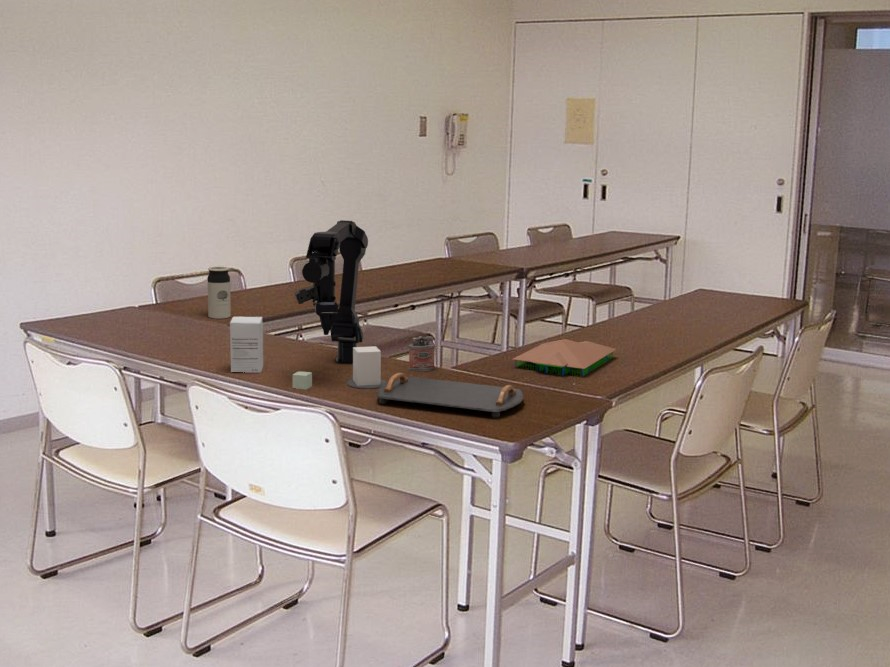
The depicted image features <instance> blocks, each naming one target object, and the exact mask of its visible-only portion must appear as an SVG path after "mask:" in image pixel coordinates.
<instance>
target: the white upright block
mask: <svg viewBox="0 0 890 667" xmlns="http://www.w3.org/2000/svg"><path fill="white" fill-rule="evenodd" d="M381 359H382V351H381V350H380V349H379V348H378V346H357V347H353V363H352V379H353V381H354V382H355V383H356V385H357V386H365V385H381V379H382V377H381V373H382V372H381V369H382V368H381V367H382V365H381V364H382V360H381Z"/></svg>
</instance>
